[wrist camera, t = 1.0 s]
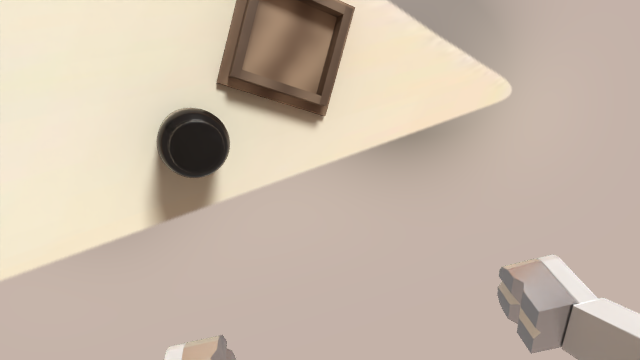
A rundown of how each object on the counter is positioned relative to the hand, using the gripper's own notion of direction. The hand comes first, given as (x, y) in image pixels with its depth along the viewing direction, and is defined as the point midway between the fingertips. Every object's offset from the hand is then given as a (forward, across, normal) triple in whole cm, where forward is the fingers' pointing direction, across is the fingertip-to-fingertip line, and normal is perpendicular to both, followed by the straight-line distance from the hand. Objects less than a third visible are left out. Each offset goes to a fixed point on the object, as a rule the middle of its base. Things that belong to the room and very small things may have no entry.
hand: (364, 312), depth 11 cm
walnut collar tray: (+42, 0, +2) cm, 42 cm away
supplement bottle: (+35, +14, +8) cm, 39 cm away
